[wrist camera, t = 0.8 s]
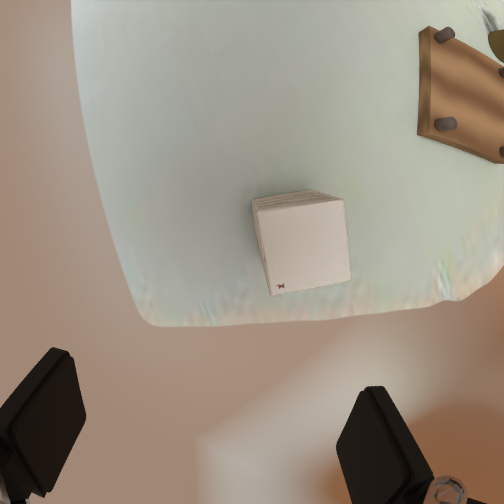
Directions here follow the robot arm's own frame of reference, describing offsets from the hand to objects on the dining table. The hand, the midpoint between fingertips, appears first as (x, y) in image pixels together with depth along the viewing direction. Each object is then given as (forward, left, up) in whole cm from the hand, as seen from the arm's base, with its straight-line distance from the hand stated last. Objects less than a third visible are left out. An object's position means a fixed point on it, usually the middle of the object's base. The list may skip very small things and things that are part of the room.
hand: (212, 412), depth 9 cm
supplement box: (-1, +6, -30) cm, 30 cm away
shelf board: (-23, +30, -29) cm, 48 cm away
